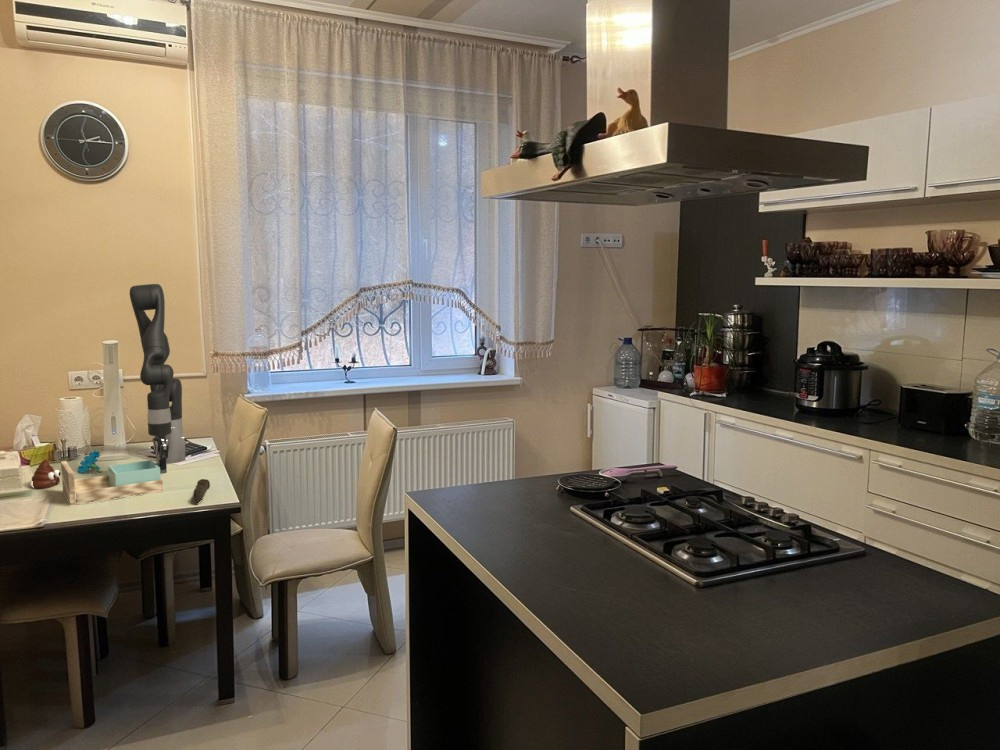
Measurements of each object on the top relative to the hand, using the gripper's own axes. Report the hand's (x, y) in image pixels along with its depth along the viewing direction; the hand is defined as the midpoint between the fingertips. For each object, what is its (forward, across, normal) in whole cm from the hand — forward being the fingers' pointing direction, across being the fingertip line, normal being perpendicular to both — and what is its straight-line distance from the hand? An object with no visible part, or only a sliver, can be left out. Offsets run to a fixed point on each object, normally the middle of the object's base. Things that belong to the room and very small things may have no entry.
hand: (161, 468), depth 265 cm
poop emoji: (+7, +22, +34) cm, 41 cm away
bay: (+6, 0, +16) cm, 17 cm away
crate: (+5, 0, +7) cm, 9 cm away
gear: (+6, +34, +18) cm, 39 cm away
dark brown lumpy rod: (+7, -22, -8) cm, 24 cm away
